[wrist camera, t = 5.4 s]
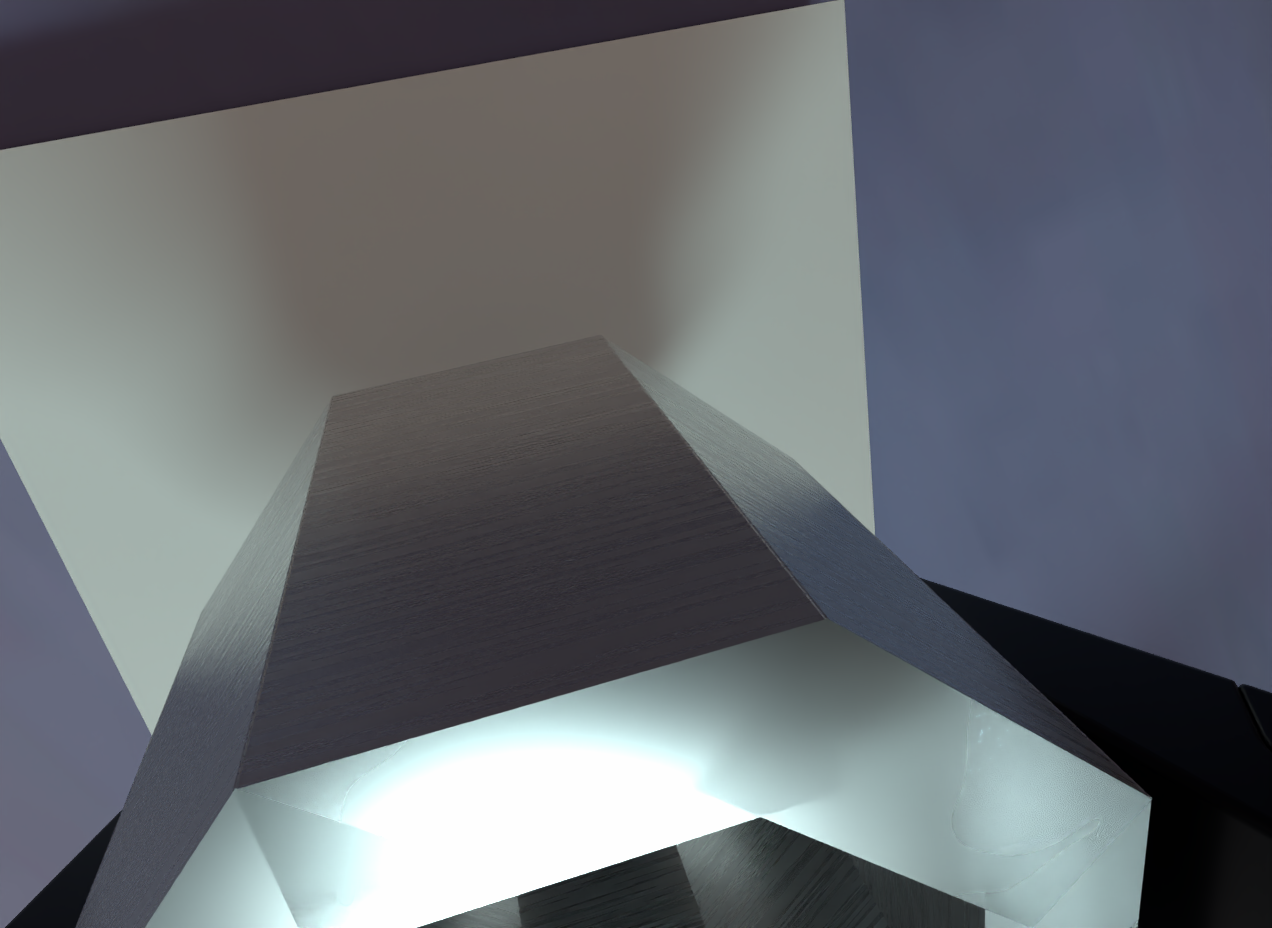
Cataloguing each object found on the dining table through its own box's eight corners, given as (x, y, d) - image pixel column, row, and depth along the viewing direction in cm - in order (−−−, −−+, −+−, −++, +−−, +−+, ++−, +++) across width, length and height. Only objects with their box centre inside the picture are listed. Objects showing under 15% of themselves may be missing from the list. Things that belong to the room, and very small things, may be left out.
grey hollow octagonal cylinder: (823, 763, 11) (1106, 1220, 7) (336, 915, 10) (281, 1563, 6) (776, 294, 9) (1183, 514, 4) (127, 443, 8) (-269, 932, 3)
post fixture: (858, 669, 16) (1080, 953, 11) (247, 851, 15) (155, 1291, 9) (810, 6, 12) (1154, -68, 6) (-87, 166, 10) (-650, 251, 5)
